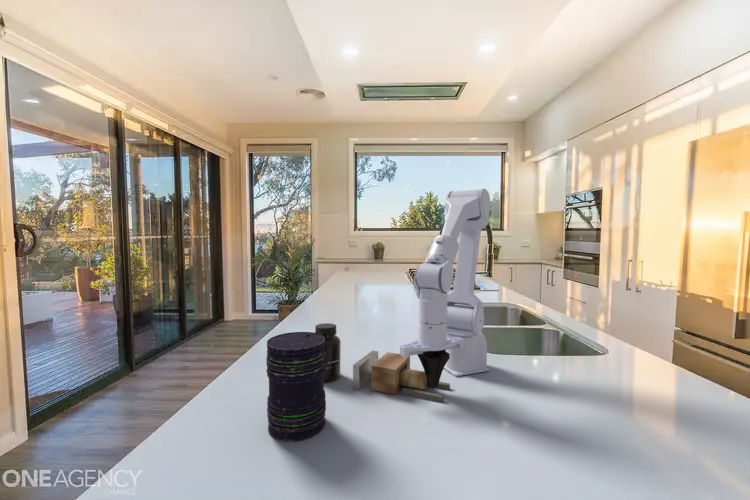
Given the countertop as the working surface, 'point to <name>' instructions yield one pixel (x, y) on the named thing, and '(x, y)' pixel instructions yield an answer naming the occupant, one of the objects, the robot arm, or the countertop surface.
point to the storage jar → (296, 386)
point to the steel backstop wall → (363, 369)
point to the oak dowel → (412, 378)
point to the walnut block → (388, 372)
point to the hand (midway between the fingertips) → (432, 385)
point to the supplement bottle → (330, 350)
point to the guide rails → (426, 394)
